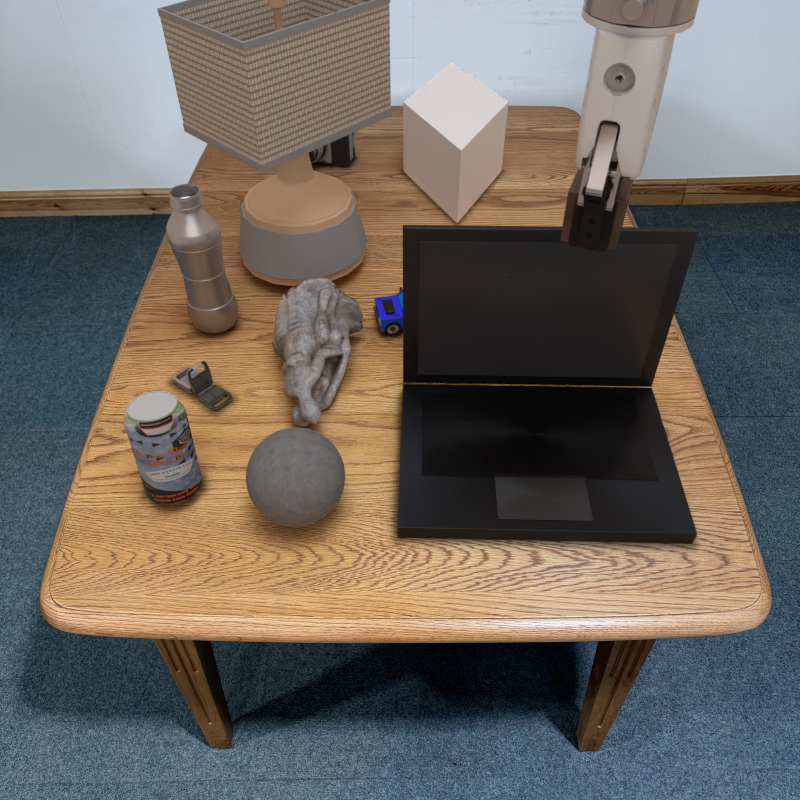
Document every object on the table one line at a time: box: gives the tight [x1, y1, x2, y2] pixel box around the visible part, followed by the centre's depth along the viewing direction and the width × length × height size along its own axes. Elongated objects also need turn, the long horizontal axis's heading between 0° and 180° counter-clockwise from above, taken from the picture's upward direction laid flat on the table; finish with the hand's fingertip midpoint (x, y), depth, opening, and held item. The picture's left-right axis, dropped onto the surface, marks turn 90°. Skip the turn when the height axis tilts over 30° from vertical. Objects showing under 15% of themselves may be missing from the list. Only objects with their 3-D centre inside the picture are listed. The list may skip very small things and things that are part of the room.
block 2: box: [560, 168, 635, 251], centre depth 60 cm, size 5×5×5 cm
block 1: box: [402, 61, 509, 224], centre depth 125 cm, size 18×35×12 cm, turn 179°
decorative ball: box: [245, 426, 346, 527], centre depth 74 cm, size 10×10×10 cm
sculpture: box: [272, 278, 365, 427], centre depth 88 cm, size 11×18×12 cm
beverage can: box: [123, 390, 203, 505], centre depth 75 cm, size 6×7×12 cm
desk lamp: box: [156, 0, 393, 287], centre depth 97 cm, size 22×19×37 cm
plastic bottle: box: [165, 183, 239, 334], centre depth 92 cm, size 6×7×20 cm
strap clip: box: [172, 360, 233, 411], centre depth 88 cm, size 8×3×4 cm, turn 51°
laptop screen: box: [402, 224, 700, 388], centre depth 81 cm, size 21×30×1 cm
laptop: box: [397, 383, 698, 545], centre depth 81 cm, size 21×30×2 cm
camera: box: [309, 132, 356, 168], centre depth 128 cm, size 14×8×10 cm, turn 73°
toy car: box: [372, 286, 403, 337], centre depth 97 cm, size 7×12×5 cm, turn 101°
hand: (593, 228), depth 62 cm, fingers closed on block 2, 4 cm apart
